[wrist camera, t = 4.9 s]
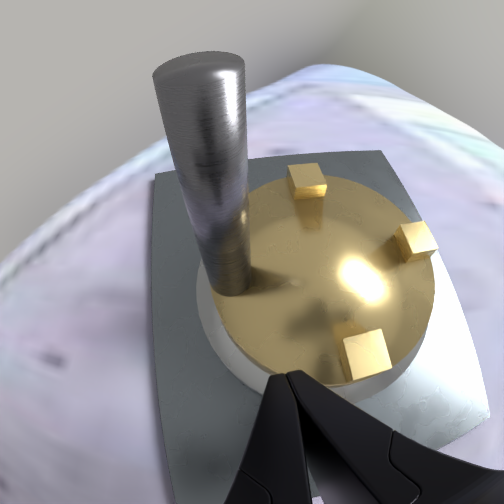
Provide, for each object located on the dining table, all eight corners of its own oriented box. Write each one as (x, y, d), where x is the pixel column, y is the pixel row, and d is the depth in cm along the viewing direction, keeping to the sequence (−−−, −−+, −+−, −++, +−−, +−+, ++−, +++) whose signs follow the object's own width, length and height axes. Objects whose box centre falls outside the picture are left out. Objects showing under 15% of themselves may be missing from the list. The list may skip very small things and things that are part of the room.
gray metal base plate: (484, 417, 12) (503, 414, 11) (180, 509, 11) (171, 520, 9) (379, 155, 25) (384, 138, 23) (157, 179, 23) (151, 161, 22)
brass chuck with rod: (398, 410, 12) (613, 344, 2) (177, 341, 14) (31, 160, 4) (422, 228, 18) (506, 79, 7) (257, 177, 20) (257, 2, 10)
